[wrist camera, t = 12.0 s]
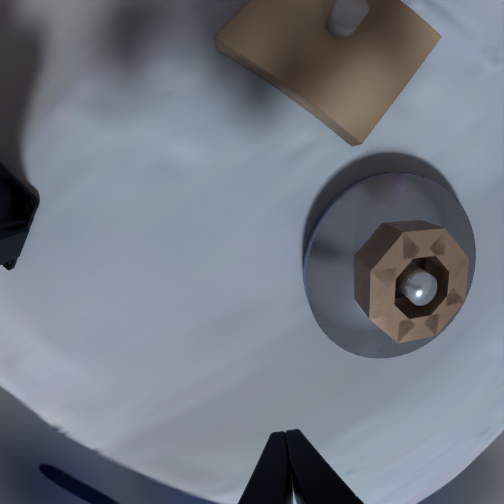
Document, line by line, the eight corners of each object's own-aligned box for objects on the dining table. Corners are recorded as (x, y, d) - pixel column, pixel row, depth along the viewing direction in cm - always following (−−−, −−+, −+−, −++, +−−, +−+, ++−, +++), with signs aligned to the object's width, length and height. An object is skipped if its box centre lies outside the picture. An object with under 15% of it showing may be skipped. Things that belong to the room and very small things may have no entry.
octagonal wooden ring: (353, 325, 19) (367, 348, 16) (352, 224, 18) (370, 234, 15) (438, 310, 19) (460, 329, 16) (443, 217, 17) (470, 226, 14)
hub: (263, 285, 20) (265, 315, 16) (382, 133, 18) (414, 124, 13) (388, 373, 22) (410, 409, 17) (487, 249, 19) (525, 265, 15)
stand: (218, 50, 17) (205, 14, 12) (310, -40, 15) (321, -82, 10) (351, 146, 18) (382, 138, 13) (428, 45, 16) (465, 21, 11)
